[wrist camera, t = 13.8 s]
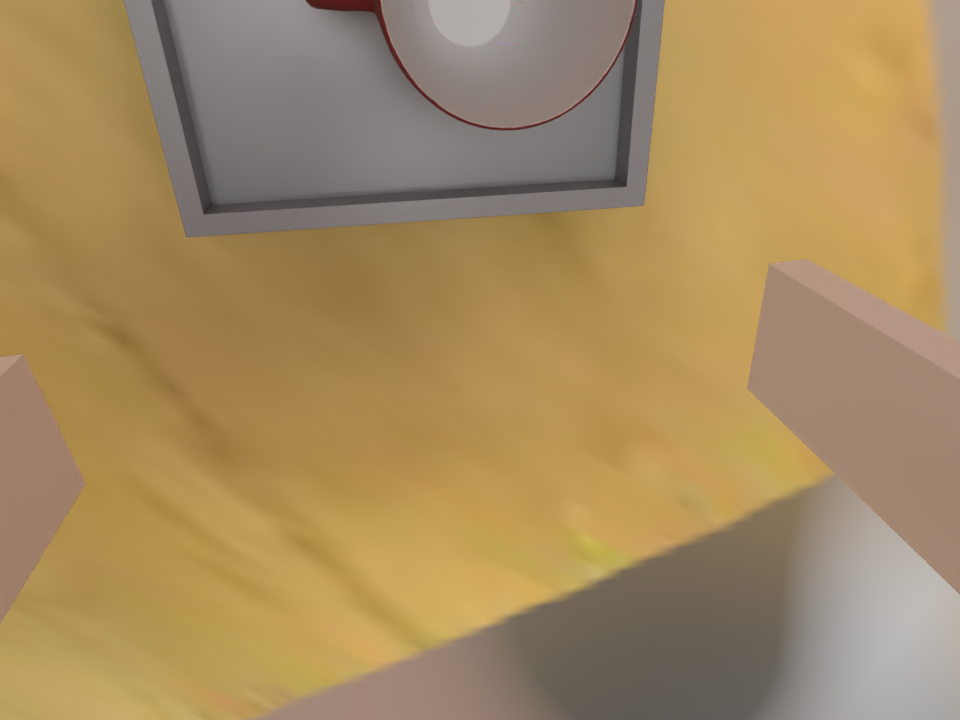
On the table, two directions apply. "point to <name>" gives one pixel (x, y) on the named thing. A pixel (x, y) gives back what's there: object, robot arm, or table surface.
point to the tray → (365, 125)
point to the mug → (501, 53)
